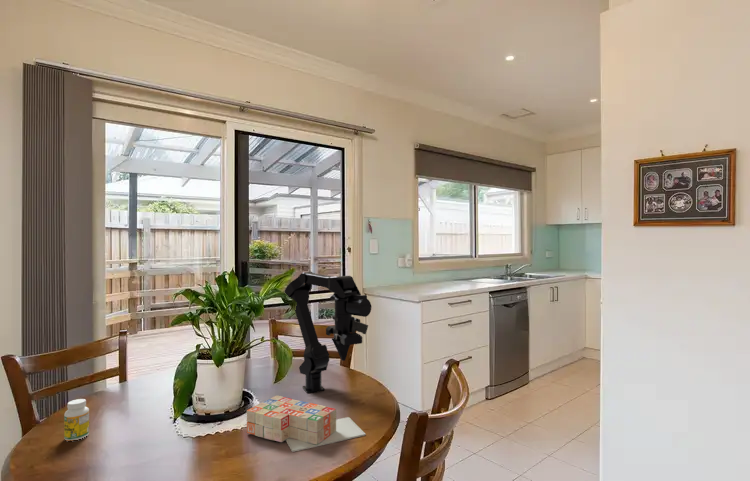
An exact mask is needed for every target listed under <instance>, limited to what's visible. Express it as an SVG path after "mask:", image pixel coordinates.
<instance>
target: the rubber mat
mask: <svg viewBox="0 0 750 481" xmlns="http://www.w3.org/2000/svg"><path fill="white" fill-rule="evenodd" d="M364 436H367V435H366V433H365V432H364V431H363V430H362V429H361V428H360V426H358V425H357V424H356V423H355V422H354V421H353V420H352V419H351V418H350V417H349V416H346V417H342V418H338V419H337V418H336V431H335V432H334V433H333V434H331V435H330V436H329V437H328V438H326V439H325V440H323V441H321V442H320V443H319V444H317V445H316V444H312V443H309V442H303V441H300V440H297V439H293V438H290V437H289V438H287V439H286V440H285V442H286V443H287V445H288V447H289V450H290V451H291V452H292V453H294V452H298V451H299V452H300V451H302V450H303V451H304V450H308V449H310V448H311V449H312V448H316V447H320V446H324V445H325V446H326V445H329V444H333V443H334V444H335V443H339V442H342V441H346V440H351V439H355V438H360V437H364Z"/></svg>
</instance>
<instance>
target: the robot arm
mask: <svg viewBox="0 0 750 481" xmlns="http://www.w3.org/2000/svg"><path fill="white" fill-rule="evenodd" d="M353 278H354V277H353V276H351V275H342V276H341V275H339V276H331V275H325V274H321V273H315V272H312V271H310V272H309V271H308V272H307V271H306V272H301V273H300V274H299V276H298V277H296V278H295V279H294V280H292V281H290V282H289V283H288V285H287V286H286V287H285V289H284V294H285V293H286V294H287V295H288V296H289V297H291V298H293V299H294V300H295V301H296V302H297V306H296V310H295V309H294V313H295V315H296V318H297V322H298V326H299V329H300V333H301V335H302V339H303V343H304V345H305V346H304V351H303V360H304V361H303V362H302V363H301V364H300V366H299V367H298V368H299V373H300V374H301V375H304V376H305V378H304V379H305V383H304V384H305V385H302V389H303V390H304V391H305V393H307V394H311V393H317V392H322V391H325V387H324V386H323V385H322V372H324V371H327V368H328V365H329V362H330V353H329V351H328V346H327V345H326V344H322V343H321V342H320V341H319V338H318V334H317V331H316V328H315V324H314V322H313V318H312V315H311V311H310V307H309V306H308V304H309V299H310V294H309V293H310V292H311V290H312V289H313V286H317V287H321V288H326V289H328V290H329V292H332V293H333V294H332V295H331V296H329V297H330V298H329V299H330V300H333V301H334V315H332V320H333V321H334V325H329V326H327V327H326V328H325V335H327V336H329V337H330V336H331V335H332V334H333V337H332V338H331V341H332V343H333V344H334V347H335V348H336V349H335V350H336V351H337V353H338V355H339V357H340V359H341V360H340V361H342V362H344V361H346V358H347V356H348V353H349V350H350V346H351V345H359V344H363V335H366V334H367V331H368V328H369V325H368V324H367V323H363V322H361V319H359V318H357V317H365V318H366V317H368V316H369V315H370V313H371V311H372V304H371V302H370V300H369V299H368V295H367V294H362V293H361V292H360V290H359V288H358V286H357V284H356V282H355V280H354V279H353ZM354 316H355V317H354ZM356 316H357V317H356ZM360 333H361V334H363V335H361V334H360Z"/></svg>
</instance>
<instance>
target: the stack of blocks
mask: <svg viewBox="0 0 750 481" xmlns="http://www.w3.org/2000/svg"><path fill="white" fill-rule="evenodd" d="M336 420H337V408H333V407H328V406H327V405H321V404H316V403H313V402H306V401H303V400H297V399H292V398H290V397H284V396H282V395H274V396H272V397H271V398H269V399H267V400H264V401H263V402H260V403H258V404H255V405H254V406H253V407H251V408H248V409H246V433H247V434H249V435H252V436H255V437H259V438H262V439H265V440H270V441H276V442H279V443H283V442H284V441H286V439H287V438H289V437H290V438H293V439H297V440H300V441H303V442H309V443H312V444H316V445H317V444H319V443H320V442H321V441H323V440H325V439H326V438H328V437H329V436H330V435H331V434H333V433H334V432H335V431H336Z"/></svg>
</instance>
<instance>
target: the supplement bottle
mask: <svg viewBox="0 0 750 481" xmlns="http://www.w3.org/2000/svg"><path fill="white" fill-rule="evenodd" d="M66 405H67V410H66V411H65V412H64V414H63V415H64V416H63V417H64V418H63V419H64V420H63V421H64V422H63V428H64V429H63V431H64V432H63V434H64V435H63V437H64V438H63V440H64V439H65V440H78V439H81V440H83V439H85V438H87V437H88V436H89V435H90V408H89V407H88V406H87V400H86V399H85V398H77V399H73V400H70V401H68V402H67V404H66ZM86 436H87V437H86ZM84 437H85V438H84ZM82 438H83V439H82ZM65 440H64V441H65ZM78 441H79V440H78Z"/></svg>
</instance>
